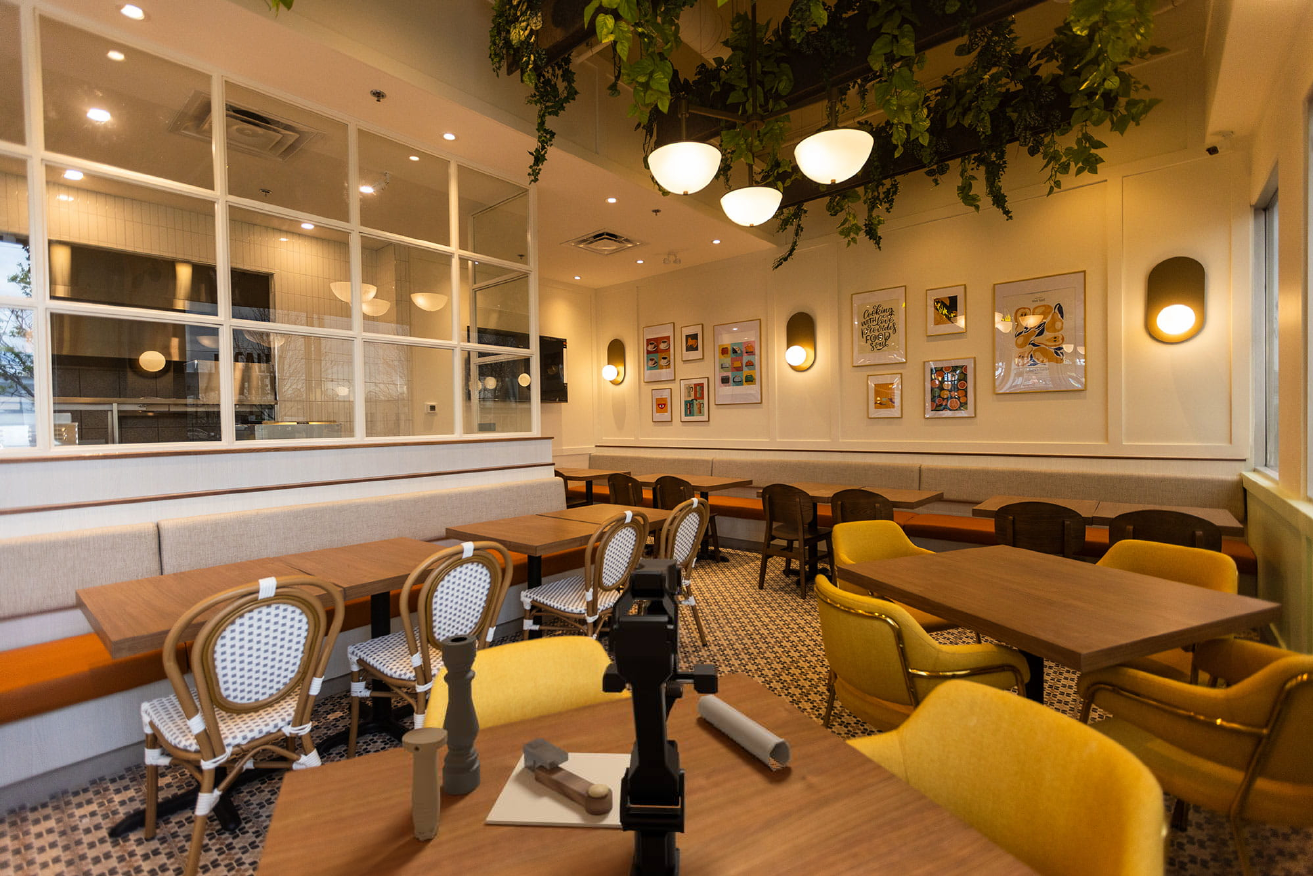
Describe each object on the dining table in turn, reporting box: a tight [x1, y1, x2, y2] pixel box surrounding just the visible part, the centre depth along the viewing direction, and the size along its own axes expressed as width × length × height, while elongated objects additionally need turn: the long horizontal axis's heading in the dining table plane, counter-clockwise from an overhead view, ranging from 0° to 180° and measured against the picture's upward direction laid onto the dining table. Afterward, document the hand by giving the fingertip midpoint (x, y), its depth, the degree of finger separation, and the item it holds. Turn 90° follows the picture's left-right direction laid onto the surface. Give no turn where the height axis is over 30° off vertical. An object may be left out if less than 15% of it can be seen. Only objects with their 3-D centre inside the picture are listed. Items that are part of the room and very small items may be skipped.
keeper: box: [522, 737, 569, 773], centre depth 104 cm, size 8×4×4 cm, turn 46°
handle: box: [401, 726, 447, 842], centre depth 89 cm, size 5×6×15 cm
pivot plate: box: [485, 752, 631, 829], centre depth 100 cm, size 20×22×3 cm
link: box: [535, 765, 613, 815], centre depth 97 cm, size 16×4×2 cm, turn 51°
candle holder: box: [441, 633, 481, 796], centre depth 101 cm, size 6×6×25 cm
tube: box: [697, 694, 792, 772], centre depth 115 cm, size 5×5×25 cm
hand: (661, 729), depth 97 cm, fingers closed
